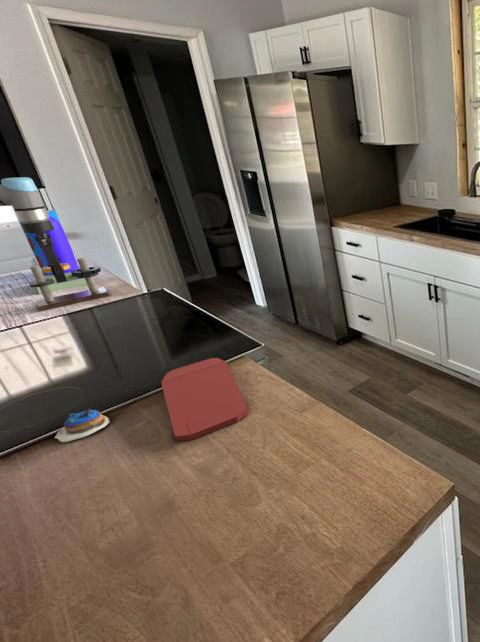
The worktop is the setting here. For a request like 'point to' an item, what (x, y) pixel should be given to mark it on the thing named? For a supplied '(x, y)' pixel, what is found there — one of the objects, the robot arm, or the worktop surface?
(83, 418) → the dessert
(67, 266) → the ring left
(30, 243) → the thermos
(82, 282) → the tray
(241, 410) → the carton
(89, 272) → the ring right
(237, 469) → the worktop surface
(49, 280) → the rack
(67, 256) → the bottle
